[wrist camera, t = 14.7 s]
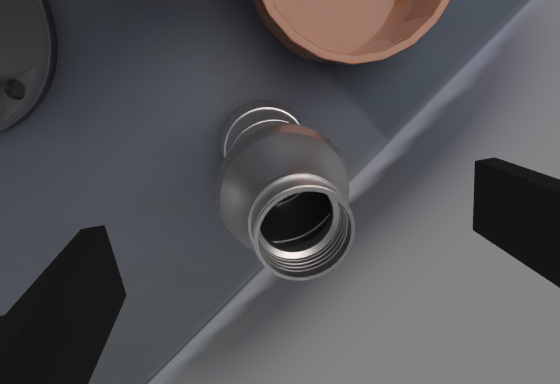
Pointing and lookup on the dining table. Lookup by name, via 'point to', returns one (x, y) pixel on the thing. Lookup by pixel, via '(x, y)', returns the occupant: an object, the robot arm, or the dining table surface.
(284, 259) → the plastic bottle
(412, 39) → the pan
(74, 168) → the dining table surface
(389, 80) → the dining table surface
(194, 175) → the dining table surface
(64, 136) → the dining table surface
